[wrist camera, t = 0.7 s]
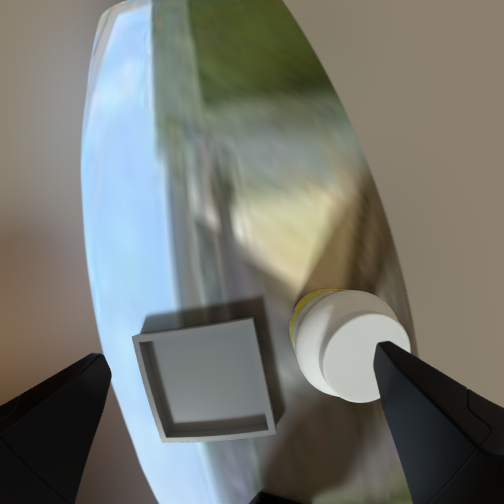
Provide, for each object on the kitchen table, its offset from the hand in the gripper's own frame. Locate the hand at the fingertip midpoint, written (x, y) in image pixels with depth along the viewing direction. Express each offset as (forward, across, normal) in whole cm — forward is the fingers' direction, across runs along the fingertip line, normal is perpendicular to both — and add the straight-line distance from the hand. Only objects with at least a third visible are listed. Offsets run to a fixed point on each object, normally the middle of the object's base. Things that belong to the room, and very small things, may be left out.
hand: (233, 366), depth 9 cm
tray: (+13, +5, +14) cm, 19 cm away
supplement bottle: (+15, -6, +9) cm, 19 cm away
